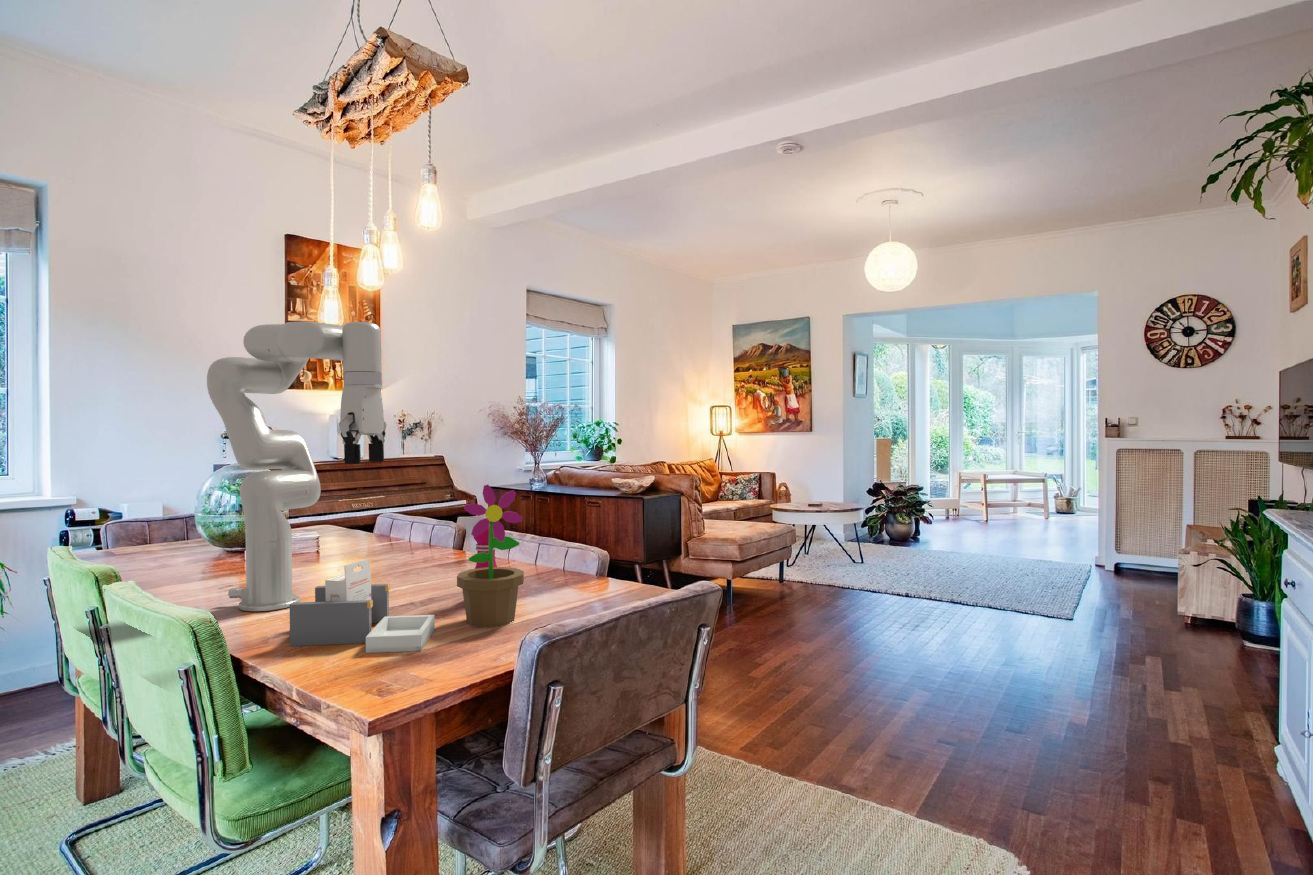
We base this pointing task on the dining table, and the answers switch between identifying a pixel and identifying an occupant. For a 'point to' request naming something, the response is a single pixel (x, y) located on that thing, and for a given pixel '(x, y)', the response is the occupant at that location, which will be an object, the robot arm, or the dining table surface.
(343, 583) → the ink cartridge box
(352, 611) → the bay
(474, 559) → the flowerpot
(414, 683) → the dining table surface
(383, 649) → the tray
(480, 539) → the pepper mill
